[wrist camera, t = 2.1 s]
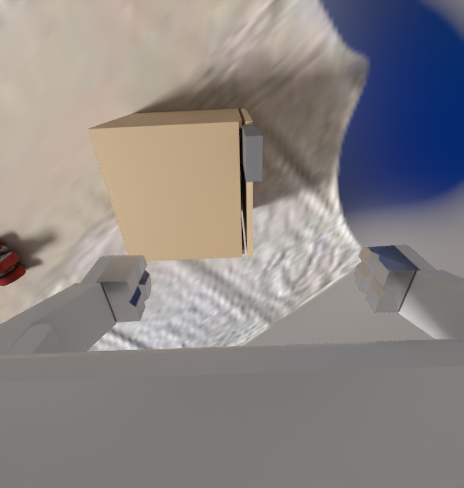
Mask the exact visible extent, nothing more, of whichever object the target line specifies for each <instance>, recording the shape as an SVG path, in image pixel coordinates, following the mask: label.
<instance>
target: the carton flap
mask: <svg viewBox="0 0 464 488" xmlns="http://www.w3.org/2000/svg"><path fill="white" fill-rule="evenodd" d="M241 119H242V128H241V153H242V199H243V219H244V228H245V238H246V248H247V257H253V182H259V181H262V165H263V135H262V133H261V131H260V130H259V128H258V126H257V125H253V120H252V119H251V117H250V115H249V113H248V112H247V110H246V108H241Z"/></svg>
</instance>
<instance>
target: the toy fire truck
mask: <svg viewBox="0 0 464 488" xmlns="http://www.w3.org/2000/svg"><path fill="white" fill-rule="evenodd" d="M1 248H2V245H1V244H0V249H1ZM19 259H20V258H19V256H18V255H17V254H16V253H15V252H9V253H6V254H3V255H2V254H1V255H0V286H5V285H8V284H10V283H12V282H14V281H16V280H17V279H19V278H20V277H21V276H23V275H24V274H25V272H26V270H25V269H24V268H23V266H22V265H20V264H17V265H14V264H15V263H16V262H17V261H19Z"/></svg>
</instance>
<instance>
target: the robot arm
mask: <svg viewBox="0 0 464 488" xmlns="http://www.w3.org/2000/svg"><path fill="white" fill-rule="evenodd" d="M359 258H360V259H361V261H362V262H361V263H359V264H358V265H357V266H356V270H355V281H356V284H357V287H358V288H359V290H360V291H362V292H364V293H365V294H367V296H366V300H367V302H368V303H369V305H370V306H371V308H372V310H373V311H374V312H399V314H401V315H402V316H404V317H405V318H406V319H408V320H409V321H410V322H412V323H413V324H415V325H416V326H418V327H419V328H421V329H422V330H424V331H425V332H426V333H428V334H429V335H430V336H432V337H433V338H435V339H434V340H406V341H380V342H379V341H376V342H348V343H346V342H345V343H318V344H317V343H316V344H287V345H263V346H262V345H261V346H232V347H204V348H176V349H147V350H119V351H90V352H86V351H87V350H88V349H89V348H90V347H91V346H93V345H94V344H95V343H96V342H97V341H98V340H99V339H100V338H101V337H102V336H103V335H104V334H105V333H107V332H108V331H109V330H110V329H111V328H112V327H113V326H114V325H115V324H116V322H129V321H140V319H141V317H142V314H143V312H144V309H145V304H144V301H146V300H147V299H148V298H149V296H150V293H151V278H150V274H149V273H148V272H147V271H146V270H145V268H146V266H147V262H146V259H145V257H144V256H143V255H117V256H115V255H114V256H102V257H100V258H99V259H98V261H97V262H96V263H95V264H94V266H93V267H92V268H91V270H90V271H89V272H88V274H87V275H86V276H85V277H84V279H83V280H82V281H81V283H75V284H74V285H72V286H70V287H68V288H66V289H64V290H63V291H61V292H59V293H57V294H55V295H53V296H52V297H50V298H48V299H46V300H44V301H42V302H41V303H39V304H37V305H35V306H33V307H31V308H30V309H28V310H26V311H24V312H22V313H20V314H19V315H17V316H15V317H13V318H11V319H9V320H8V321H6V322H4V323H2V324H0V488H464V278H461V277H459V276H456V275H454V274H451V273H448V272H446V271H443V270H437V269H436V268H434V267H433V266H432V265H431V264H430V263H428V262H427V261H426V260H425V259H424V258H423V257H422V256H420V255H419V254H418V253H417V252H416V251H414V250H413V249H412V248H411V247H410V246H408V245H391V246H377V247H363V248H362V250H361V251H360V255H359Z"/></svg>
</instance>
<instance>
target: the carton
mask: <svg viewBox="0 0 464 488" xmlns="http://www.w3.org/2000/svg"><path fill="white" fill-rule="evenodd" d="M239 128H242V119H241V116H240V113H239V110H238V108H232V109H212V110H192V111H172V112H152V113H133V114H130V115H127V116H124V117H121V118H118V119H115V120H112V121H109V122H107V123H104V124H101V125H98V126H95V127H92V128H89V129H88V132H89V135H90V138H91V141H92V144H93V147H94V150H95V153H96V156H97V160H98V163H99V166H100V169H101V172H102V175H103V178H104V181H105V184H106V187H107V190H108V194H109V197H110V200H111V203H112V206H113V209H114V212H115V215H116V218H117V221H118V225H119V228H120V231H121V234H122V237H123V240H124V243H125V246H126V249H127V252H128V255H143V256H144V257H145V259H146V261H157V260H182V259H206V258H231V257H242V254H245V251H244V239H243V228H242V217H241V193H240V155H239Z"/></svg>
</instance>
